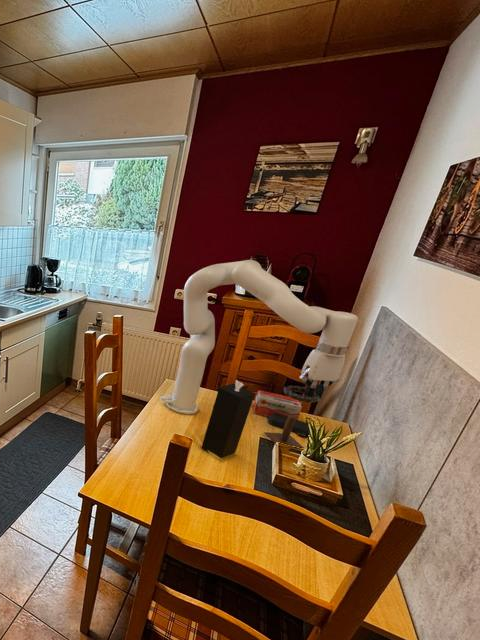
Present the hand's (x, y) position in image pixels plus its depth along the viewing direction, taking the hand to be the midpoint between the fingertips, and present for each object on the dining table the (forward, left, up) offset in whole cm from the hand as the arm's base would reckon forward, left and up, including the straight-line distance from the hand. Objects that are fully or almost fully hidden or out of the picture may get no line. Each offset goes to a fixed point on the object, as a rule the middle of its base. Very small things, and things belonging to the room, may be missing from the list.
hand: (312, 396), depth 137 cm
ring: (-4, 0, +1) cm, 4 cm away
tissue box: (-32, -8, -20) cm, 39 cm away
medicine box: (+6, +23, -20) cm, 31 cm away
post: (-4, +1, -20) cm, 21 cm away
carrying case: (+5, +12, -20) cm, 24 cm away
